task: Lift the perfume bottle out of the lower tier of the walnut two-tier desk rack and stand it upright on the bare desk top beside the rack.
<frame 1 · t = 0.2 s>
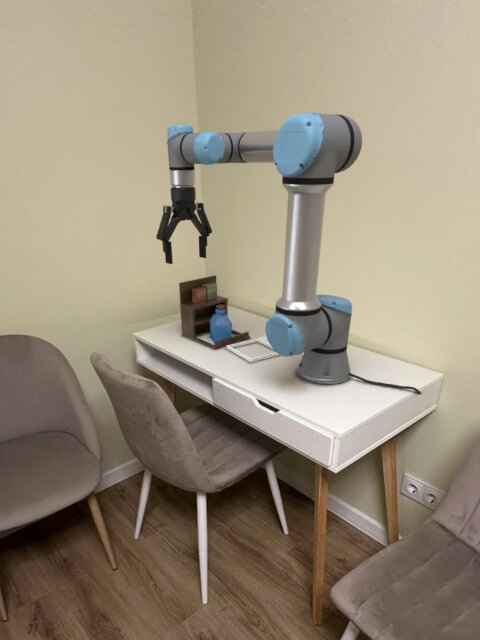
hand: (186, 260, 152), 28 cm above the table, tool pointing down, fingers open, 13 cm apart
desk rack: (220, 339, 169), on the table
photo frame: (260, 350, 159), on the table
perfume bottle: (220, 339, 169), resting in desk rack
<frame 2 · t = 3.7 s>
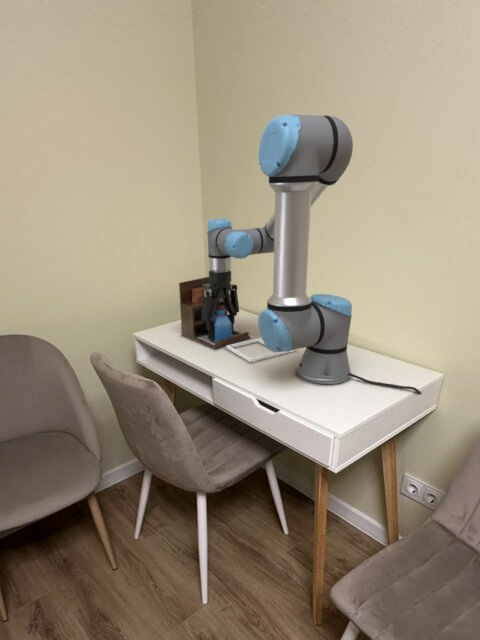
hand: (220, 335, 168), 1 cm above the table, tool pointing down, fingers closed on perfume bottle, 8 cm apart
perfume bottle: (220, 339, 169), resting in desk rack, touching gripper
everything else where it was.
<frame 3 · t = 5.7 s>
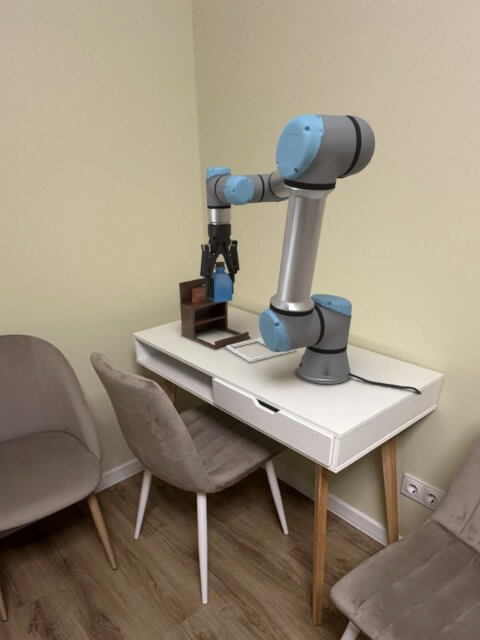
hand: (220, 295, 160), 16 cm above the table, tool pointing down, fingers closed on perfume bottle, 8 cm apart
perfume bottle: (220, 299, 161), point 14 cm above the table, touching gripper
everything else where it was.
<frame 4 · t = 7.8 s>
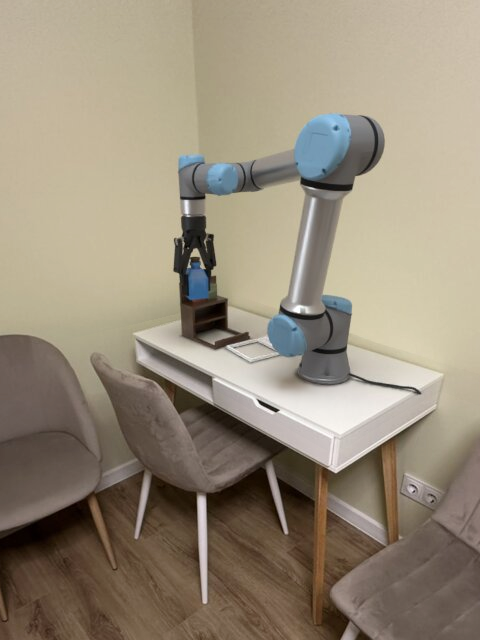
hand: (196, 292, 151), 19 cm above the table, tool pointing down, fingers closed on perfume bottle, 8 cm apart
perfume bottle: (196, 297, 152), point 17 cm above the table, touching gripper
everything else where it was.
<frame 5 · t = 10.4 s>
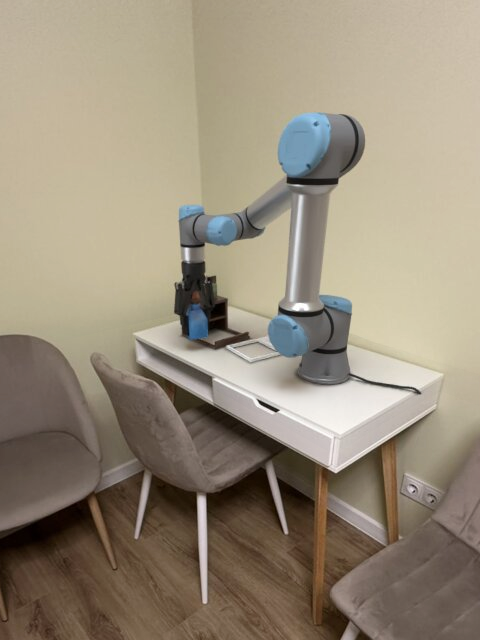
hand: (196, 331, 157), 6 cm above the table, tool pointing down, fingers closed on perfume bottle, 8 cm apart
perfume bottle: (196, 336, 158), point 5 cm above the table, touching gripper
everything else where it was.
when the fingers open (1 cm above the table, at t = 12.0 s): perfume bottle stays where it is, on the table.
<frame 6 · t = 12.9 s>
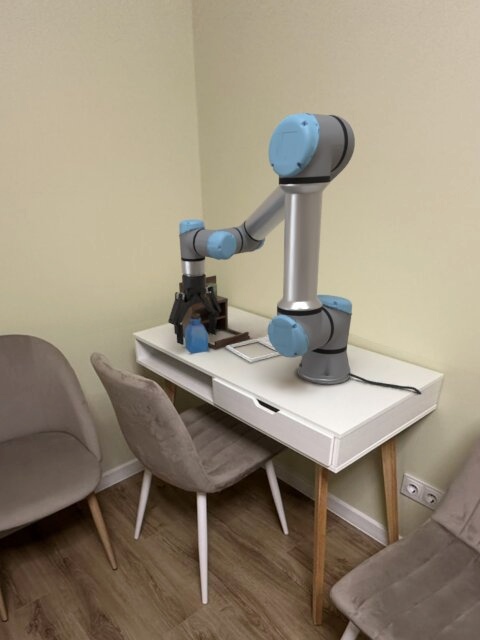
hand: (196, 338, 158), 4 cm above the table, tool pointing down, fingers open, 13 cm apart
perfume bottle: (196, 349, 161), on the table
everything else where it was.
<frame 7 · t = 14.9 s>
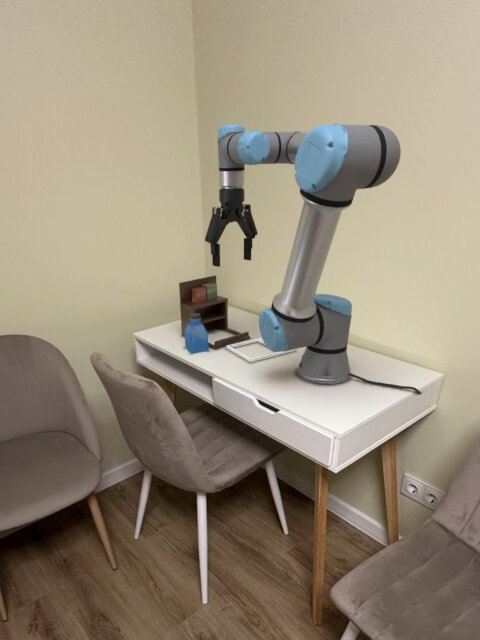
hand: (232, 263, 149), 27 cm above the table, tool pointing down, fingers open, 13 cm apart
nothing on the table moved.
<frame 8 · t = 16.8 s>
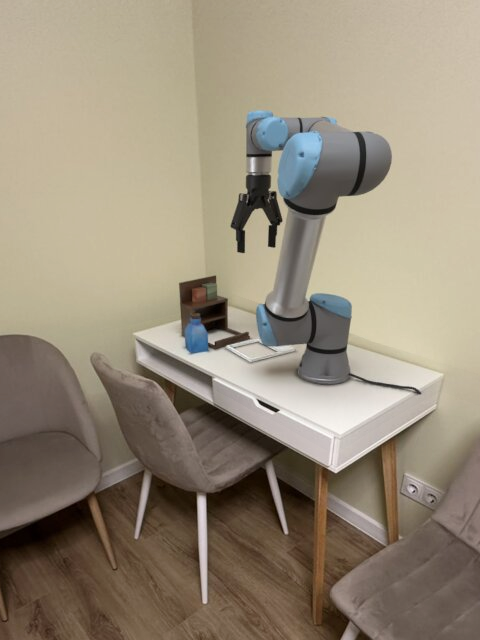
hand: (256, 249, 150), 31 cm above the table, tool pointing down, fingers open, 13 cm apart
nothing on the table moved.
at the end: perfume bottle inside the target area (0.2 cm from its centre), on the table; perfume bottle tilted 0°; the gripper is holding nothing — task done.
